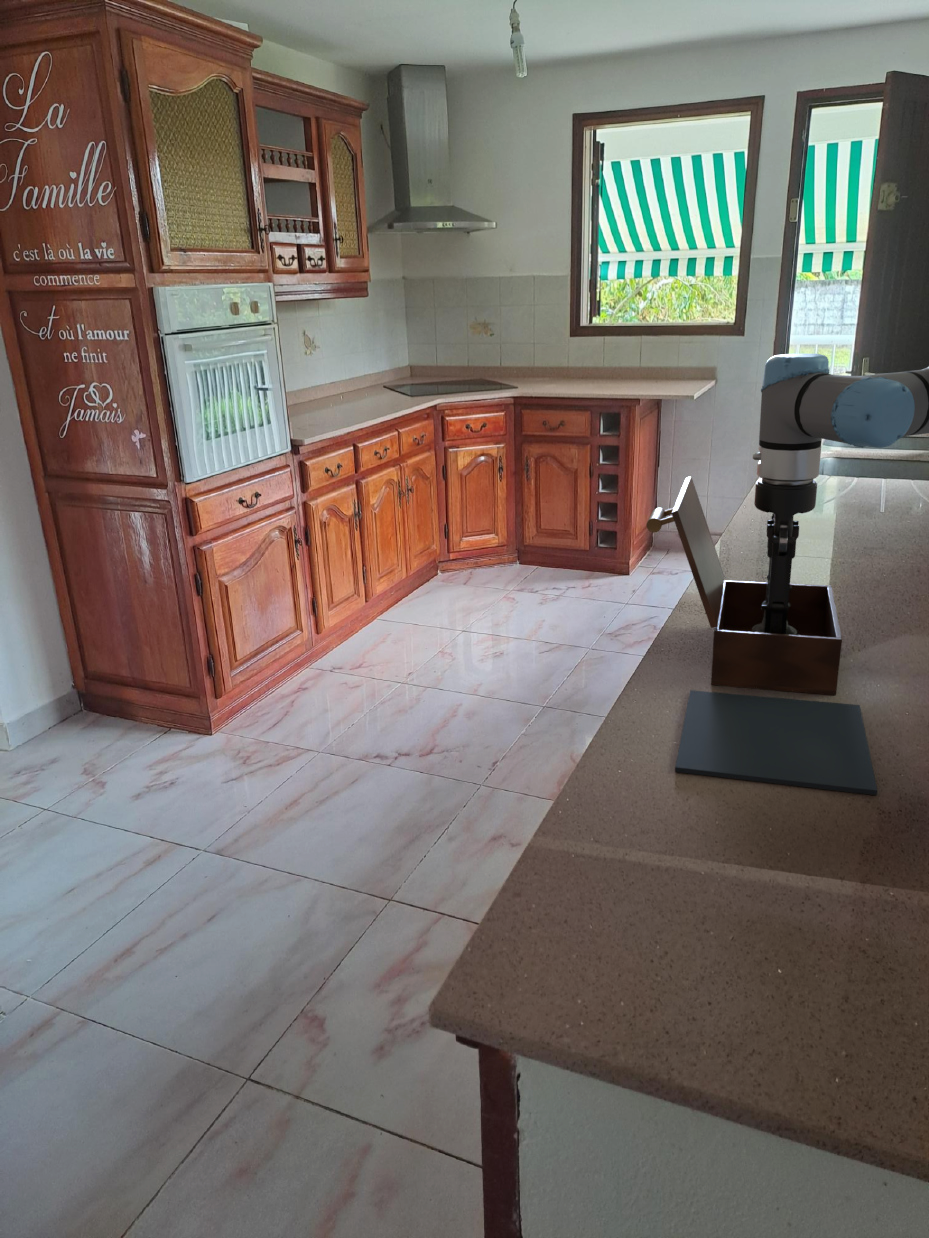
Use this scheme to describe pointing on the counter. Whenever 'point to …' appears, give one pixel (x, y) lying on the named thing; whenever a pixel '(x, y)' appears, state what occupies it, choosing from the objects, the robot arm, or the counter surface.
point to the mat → (776, 742)
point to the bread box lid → (695, 546)
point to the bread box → (777, 641)
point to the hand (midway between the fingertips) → (773, 644)
